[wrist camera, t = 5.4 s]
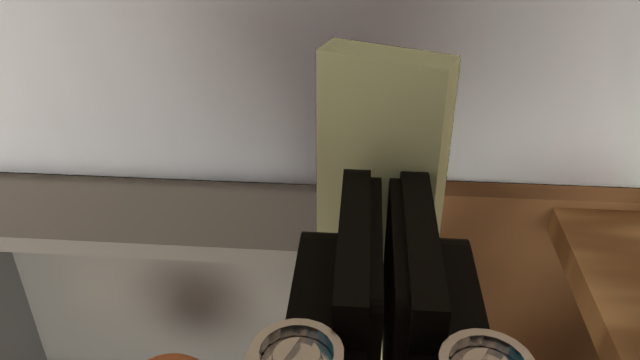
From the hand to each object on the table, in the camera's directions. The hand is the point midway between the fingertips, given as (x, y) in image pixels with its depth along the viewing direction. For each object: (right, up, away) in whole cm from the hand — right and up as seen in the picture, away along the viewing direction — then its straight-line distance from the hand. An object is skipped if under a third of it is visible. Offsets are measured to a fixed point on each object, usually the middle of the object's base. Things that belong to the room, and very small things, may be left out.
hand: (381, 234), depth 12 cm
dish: (-7, -3, +13) cm, 15 cm away
